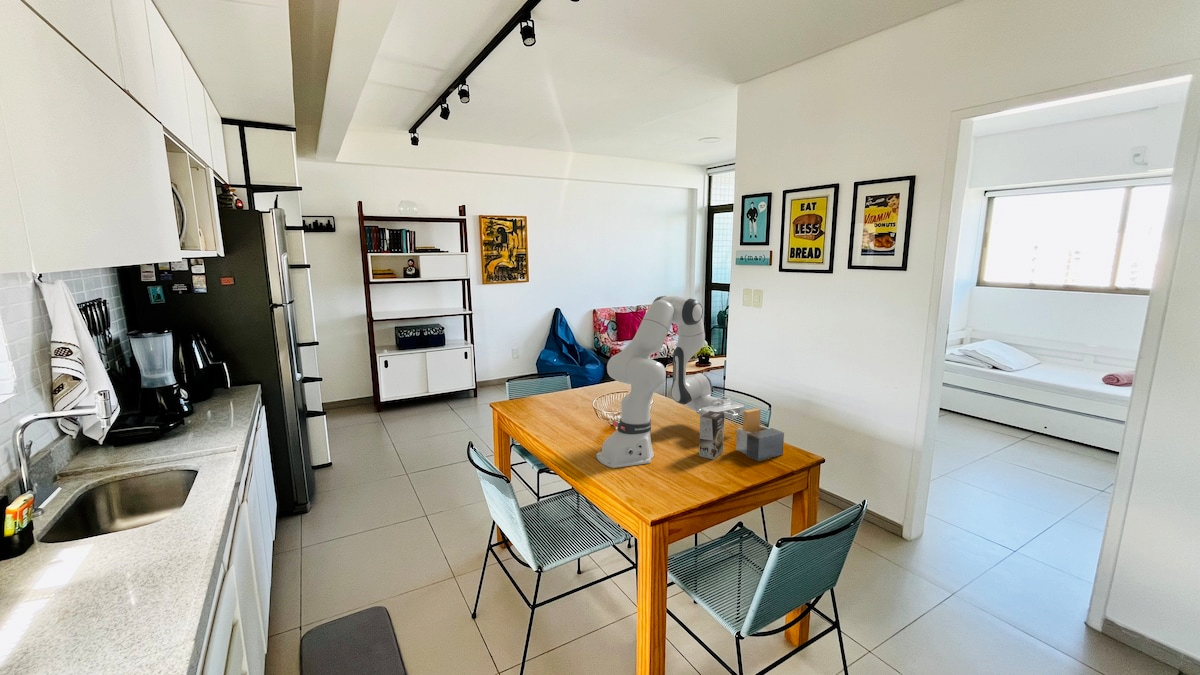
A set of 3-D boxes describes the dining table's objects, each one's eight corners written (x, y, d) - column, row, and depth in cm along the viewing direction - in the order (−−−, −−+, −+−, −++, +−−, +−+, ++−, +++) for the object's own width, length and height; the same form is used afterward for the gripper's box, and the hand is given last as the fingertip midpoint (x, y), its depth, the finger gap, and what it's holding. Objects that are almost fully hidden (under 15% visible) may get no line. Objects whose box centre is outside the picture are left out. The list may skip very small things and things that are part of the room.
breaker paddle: (746, 437, 192) (747, 412, 190) (742, 435, 194) (743, 411, 192) (759, 433, 195) (760, 409, 193) (755, 432, 197) (756, 408, 195)
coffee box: (714, 460, 185) (715, 419, 182) (698, 456, 189) (699, 416, 186) (723, 452, 192) (725, 412, 190) (708, 448, 196) (709, 410, 193)
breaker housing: (758, 461, 183) (759, 438, 182) (734, 450, 194) (735, 428, 193) (782, 454, 189) (784, 432, 188) (758, 444, 200) (759, 423, 198)
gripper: (694, 404, 208) (716, 413, 196) (730, 397, 217) (753, 405, 205) (693, 418, 209) (715, 428, 197) (730, 411, 218) (753, 419, 206)
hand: (735, 416), depth 201 cm, fingers closed
